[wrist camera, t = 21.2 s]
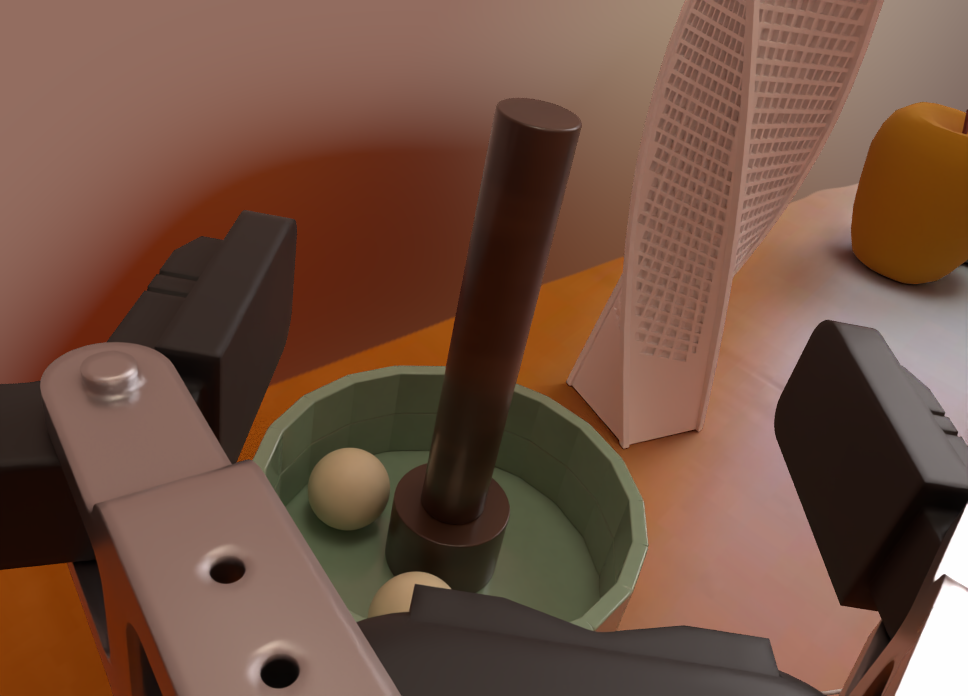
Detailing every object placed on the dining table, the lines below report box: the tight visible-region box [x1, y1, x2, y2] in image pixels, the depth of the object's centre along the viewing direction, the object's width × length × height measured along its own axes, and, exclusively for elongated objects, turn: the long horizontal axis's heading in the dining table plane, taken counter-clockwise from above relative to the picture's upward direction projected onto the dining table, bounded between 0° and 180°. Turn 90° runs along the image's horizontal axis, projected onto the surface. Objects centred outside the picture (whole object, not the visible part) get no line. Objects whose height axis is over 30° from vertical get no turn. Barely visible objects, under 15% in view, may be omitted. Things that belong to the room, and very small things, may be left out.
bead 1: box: [308, 448, 390, 530], centre depth 32 cm, size 3×3×3 cm
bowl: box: [252, 366, 648, 632], centre depth 31 cm, size 14×14×5 cm
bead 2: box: [367, 572, 451, 618], centre depth 28 cm, size 3×3×3 cm
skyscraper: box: [566, 0, 884, 449], centre depth 36 cm, size 8×7×28 cm
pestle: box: [385, 98, 582, 593], centre depth 28 cm, size 4×4×18 cm
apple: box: [851, 102, 968, 284], centre depth 62 cm, size 11×11×13 cm
